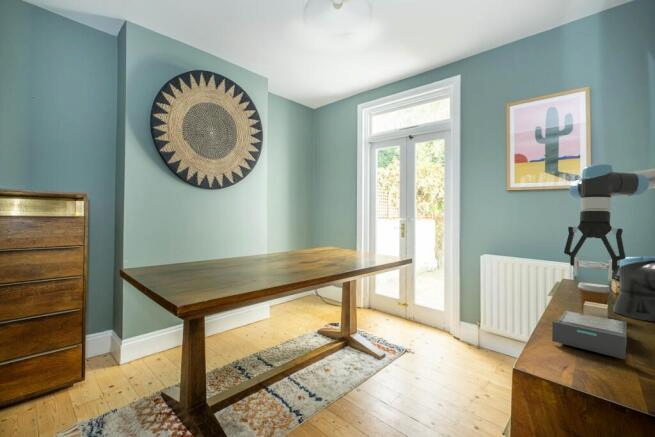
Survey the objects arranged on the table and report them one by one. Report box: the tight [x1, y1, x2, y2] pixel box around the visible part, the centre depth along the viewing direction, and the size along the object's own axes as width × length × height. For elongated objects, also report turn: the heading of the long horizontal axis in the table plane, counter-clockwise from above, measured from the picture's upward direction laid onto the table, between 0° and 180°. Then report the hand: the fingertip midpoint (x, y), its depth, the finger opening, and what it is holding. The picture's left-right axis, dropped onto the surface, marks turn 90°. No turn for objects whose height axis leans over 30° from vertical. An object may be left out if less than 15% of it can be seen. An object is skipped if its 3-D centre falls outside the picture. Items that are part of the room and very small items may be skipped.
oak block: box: [584, 301, 609, 319], centre depth 102 cm, size 6×6×7 cm
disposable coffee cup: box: [577, 281, 612, 314], centre depth 113 cm, size 10×10×12 cm
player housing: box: [558, 310, 627, 337], centre depth 92 cm, size 15×15×4 cm
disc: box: [577, 260, 609, 270], centre depth 99 cm, size 8×8×2 cm
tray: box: [551, 320, 627, 360], centre depth 84 cm, size 14×15×6 cm
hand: (592, 277), depth 99 cm, fingers closed on disc, 8 cm apart
